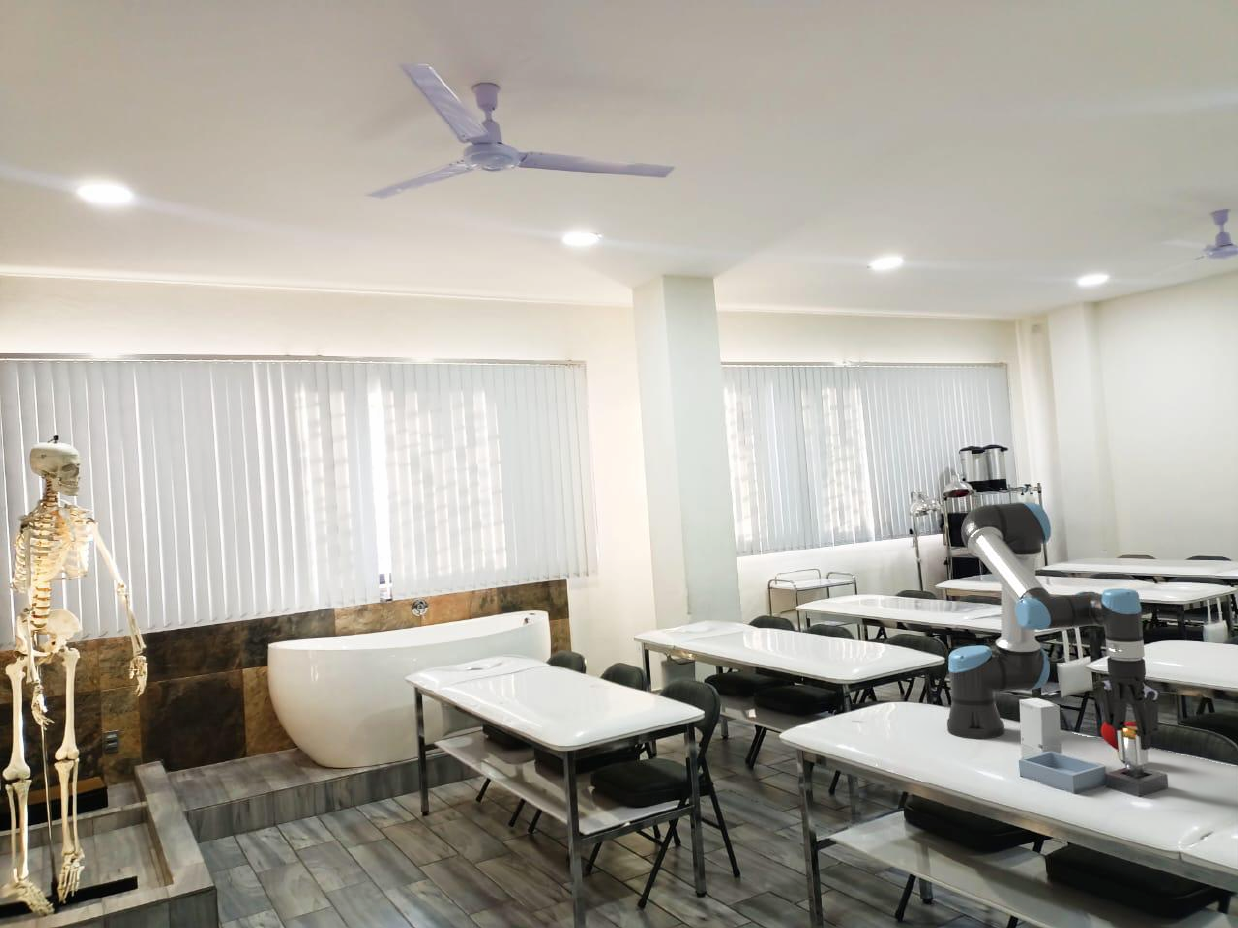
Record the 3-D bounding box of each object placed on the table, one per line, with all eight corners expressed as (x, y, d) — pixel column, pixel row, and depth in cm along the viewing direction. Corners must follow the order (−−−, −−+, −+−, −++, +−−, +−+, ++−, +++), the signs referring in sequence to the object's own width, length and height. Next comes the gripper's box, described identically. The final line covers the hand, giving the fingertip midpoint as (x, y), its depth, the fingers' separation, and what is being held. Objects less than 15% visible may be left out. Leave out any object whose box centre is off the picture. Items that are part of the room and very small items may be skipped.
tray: (1020, 776, 211) (1018, 759, 211) (1052, 767, 215) (1050, 750, 215) (1073, 793, 197) (1072, 775, 197) (1107, 783, 202) (1105, 766, 202)
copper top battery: (1122, 780, 200) (1118, 727, 200) (1133, 777, 201) (1129, 724, 201) (1138, 784, 196) (1133, 731, 197) (1148, 781, 198) (1144, 728, 198)
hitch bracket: (1105, 786, 200) (1104, 773, 200) (1134, 777, 204) (1133, 765, 204) (1139, 796, 193) (1138, 783, 193) (1168, 787, 197) (1167, 774, 197)
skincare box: (1021, 757, 224) (1016, 699, 224) (1041, 754, 225) (1036, 696, 226) (1044, 767, 216) (1039, 706, 216) (1065, 763, 217) (1060, 703, 218)
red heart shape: (1099, 762, 216) (1095, 721, 217) (1108, 754, 221) (1104, 715, 222) (1141, 769, 210) (1137, 727, 210) (1149, 761, 215) (1146, 720, 215)
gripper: (1081, 654, 205) (1089, 754, 205) (1150, 665, 190) (1159, 774, 190) (1103, 649, 209) (1111, 748, 208) (1172, 660, 193) (1181, 767, 193)
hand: (1134, 760), depth 199 cm, fingers closed on copper top battery, 4 cm apart
